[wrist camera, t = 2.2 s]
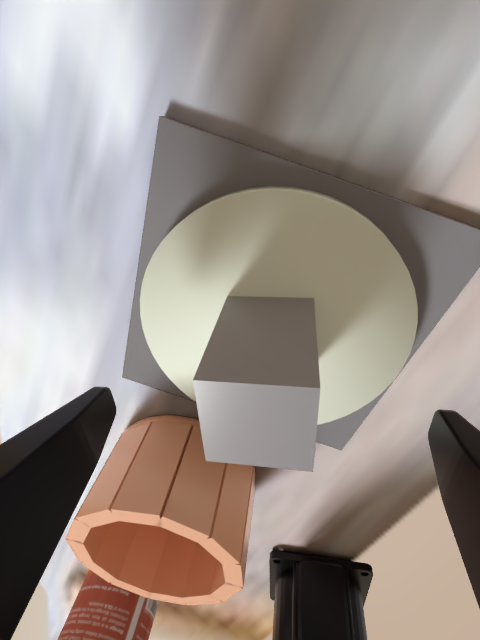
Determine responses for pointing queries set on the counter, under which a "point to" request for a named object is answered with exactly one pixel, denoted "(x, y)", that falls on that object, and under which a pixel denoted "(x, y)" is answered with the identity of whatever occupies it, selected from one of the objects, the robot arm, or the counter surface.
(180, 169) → the mat
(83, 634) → the pill bottle
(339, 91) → the counter surface
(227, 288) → the lid
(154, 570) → the bowl
